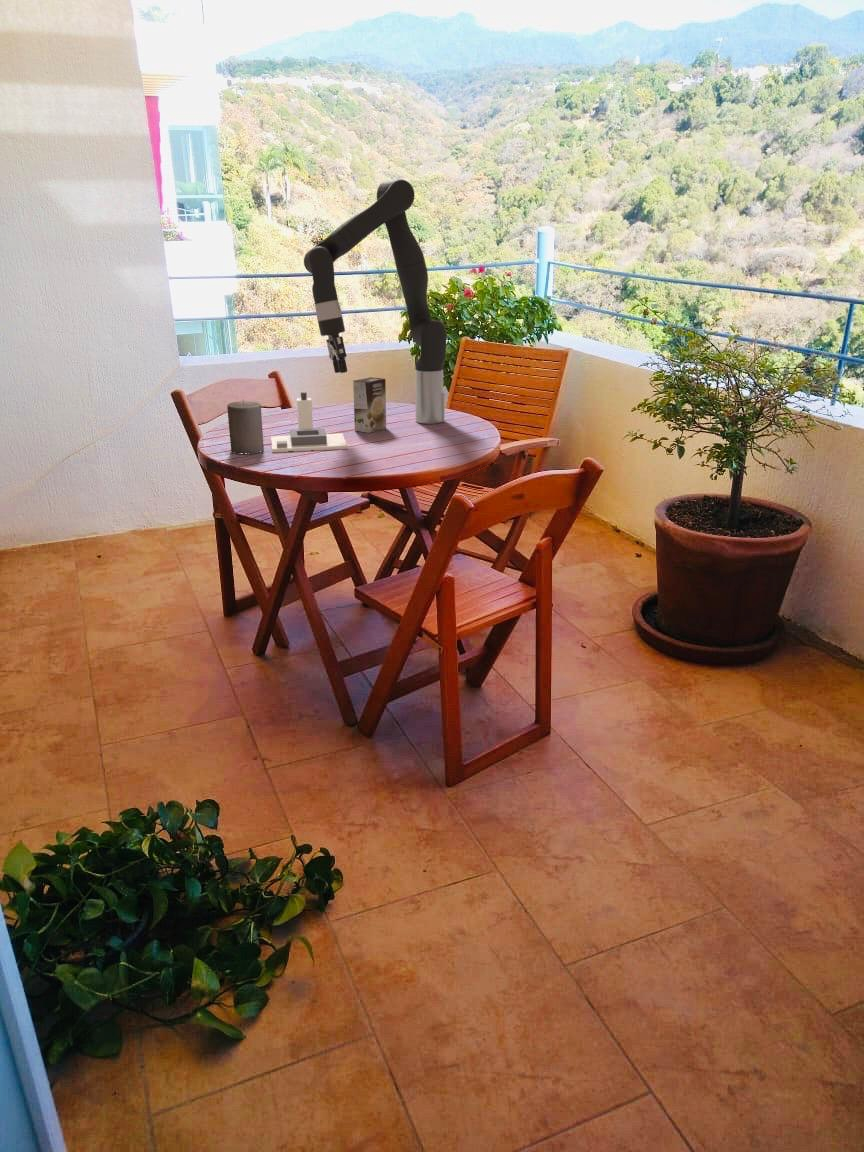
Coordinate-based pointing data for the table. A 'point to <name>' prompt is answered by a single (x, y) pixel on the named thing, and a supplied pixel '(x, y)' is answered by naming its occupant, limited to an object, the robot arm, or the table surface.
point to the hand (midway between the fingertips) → (341, 372)
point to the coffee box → (369, 404)
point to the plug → (304, 412)
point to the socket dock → (329, 446)
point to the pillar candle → (245, 427)
